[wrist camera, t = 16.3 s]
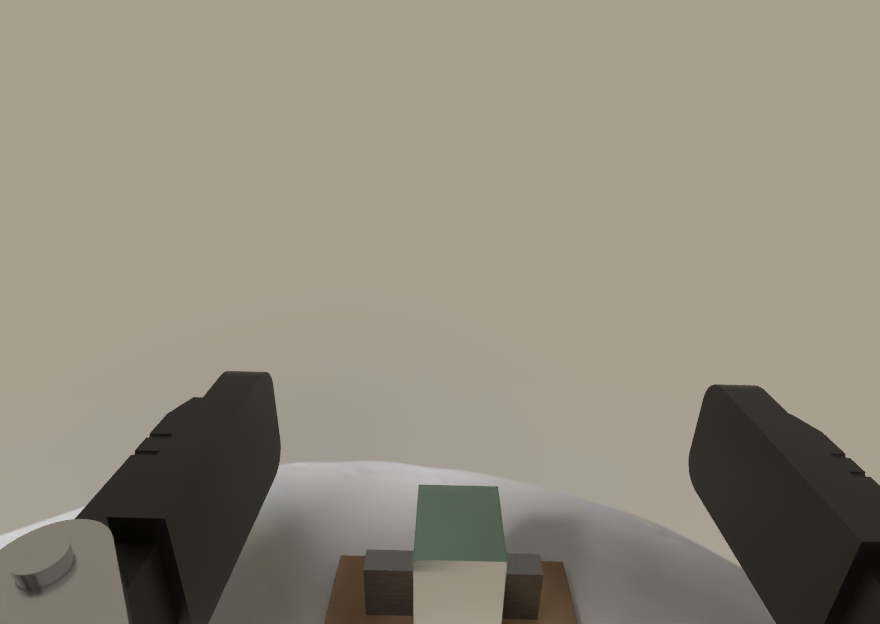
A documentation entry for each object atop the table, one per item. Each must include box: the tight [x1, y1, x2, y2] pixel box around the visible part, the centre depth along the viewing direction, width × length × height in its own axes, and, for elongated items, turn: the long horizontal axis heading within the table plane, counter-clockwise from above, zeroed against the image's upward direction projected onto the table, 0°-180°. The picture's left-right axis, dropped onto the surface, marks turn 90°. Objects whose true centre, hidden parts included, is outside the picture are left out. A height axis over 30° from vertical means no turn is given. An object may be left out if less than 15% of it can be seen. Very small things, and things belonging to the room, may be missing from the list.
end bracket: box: [363, 550, 543, 620], centre depth 33 cm, size 11×2×4 cm, turn 89°
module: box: [413, 485, 507, 624], centre depth 28 cm, size 4×5×10 cm
